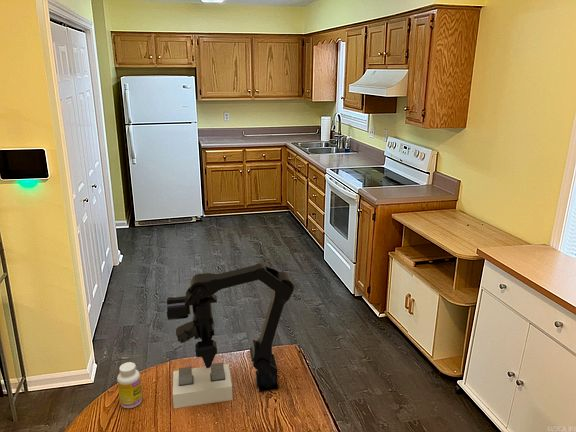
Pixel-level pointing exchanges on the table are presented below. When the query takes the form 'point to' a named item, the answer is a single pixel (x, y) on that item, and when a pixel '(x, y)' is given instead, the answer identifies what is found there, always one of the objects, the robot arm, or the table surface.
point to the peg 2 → (217, 372)
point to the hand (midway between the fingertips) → (207, 359)
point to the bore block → (202, 388)
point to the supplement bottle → (129, 385)
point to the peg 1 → (185, 376)
